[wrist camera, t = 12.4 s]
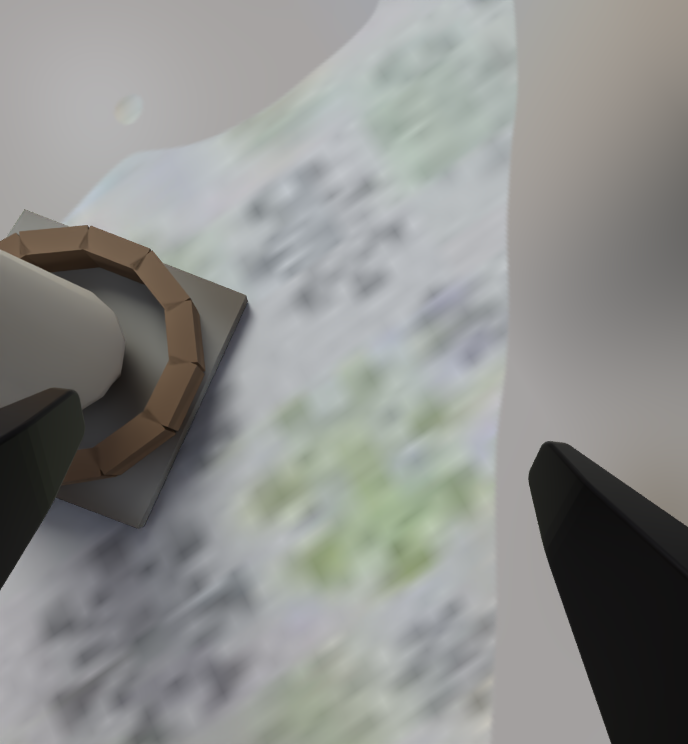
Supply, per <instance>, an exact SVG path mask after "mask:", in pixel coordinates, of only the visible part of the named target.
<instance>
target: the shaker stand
mask: <svg viewBox="0 0 688 744" xmlns="http://www.w3.org/2000/svg"><path fill="white" fill-rule="evenodd" d="M0 250H2V251H5V252H7V253H9V254H11V255H13V256H15V257H18V258H20V259H22V260H24V261H26V262H28V263H30V264H33V265H35V266H37V267H39V268H41V269H43V270H45V271H48V272H50V273H52V274H54V275H56V276H58V277H61V278H63V279H65V280H67V281H69V282H71V283H73V284H76V285H78V286H80V287H82V288H84V289H86V290H89V291H91V292H92V293H94V294H95V295H96V296H97V297H98V298H99V299H100V300H101V301H102V302H103V303H105V304H106V305H107V306H108V307H109V308H110V309H111V310H112V311H113V312H114V313H115V315H116V316H117V319H118V321H119V324H120V327H121V330H122V333H123V336H124V339H125V342H126V345H125V351H124V357H123V364H122V370H121V376H120V377H119V378H118V379H117V380H116V381H115V382H114V383H113V384H112V385H111V386H110V388H109V389H108V391H107V392H106V393H105V395H104V396H103V397H102V398H100V399H99V400H97V401H95V402H94V403H92V404H91V405H89V406H87V407H86V408H84V409H83V410H82V412H83V417H84V422H85V433H84V436H83V439H82V441H81V443H80V445H79V448H78V450H77V452H76V454H75V456H74V458H73V461H72V463H71V465H70V467H69V469H68V471H67V473H66V476H65V478H64V480H63V482H62V484H61V486H60V489H59V491H58V493H57V495H56V498H59V499H61V500H64V501H67V502H69V503H72V504H74V505H77V506H80V507H82V508H85V509H88V510H90V511H93V512H95V513H98V514H101V515H103V516H106V517H109V518H111V519H114V520H117V521H119V522H122V523H124V524H127V525H130V526H132V527H135V528H141V527H144V525H145V523H146V521H147V519H148V516H149V514H150V512H151V510H152V508H153V506H154V503H155V501H156V499H157V497H158V495H159V493H160V490H161V488H162V486H163V484H164V482H165V480H166V477H167V475H168V473H169V471H170V469H171V467H172V464H173V462H174V460H175V458H176V456H177V454H178V451H179V449H180V447H181V445H182V443H183V441H184V439H185V436H186V434H187V432H188V430H189V428H190V426H191V423H192V421H193V419H194V417H195V415H196V413H197V410H198V408H199V406H200V404H201V402H202V400H203V397H204V395H205V393H206V391H207V389H208V387H209V384H210V382H211V380H212V378H213V376H214V374H215V371H216V369H217V367H218V365H219V363H220V361H221V358H222V356H223V354H224V352H225V350H226V348H227V345H228V343H229V341H230V339H231V337H232V335H233V332H234V330H235V328H236V326H237V324H238V322H239V319H240V317H241V315H242V313H243V311H244V309H245V306H246V304H247V302H248V300H247V296H246V295H244V294H241V293H239V292H236V291H234V290H231V289H229V288H226V287H223V286H221V285H218V284H216V283H213V282H210V281H208V280H205V279H203V278H200V277H198V276H195V275H192V274H190V273H187V272H185V271H182V270H180V269H177V268H174V267H172V266H169V265H167V264H164V263H162V262H161V260H160V259H159V258H158V257H157V255H156V254H155V253H154V252H153V250H152V251H151V249H150V248H147V247H144V246H142V245H139V244H137V243H134V242H132V241H129V240H126V239H124V238H121V237H119V236H116V235H114V234H111V233H108V232H106V231H103V230H101V229H98V228H96V227H93V226H90V228H89V227H88V225H84V226H73V227H69V226H66V225H64V224H61V223H58V222H56V221H53V220H51V219H48V218H46V217H43V216H40V215H38V214H35V213H33V212H30V211H28V210H24V211H23V213H22V214H21V216H20V217H19V219H18V220H17V222H16V223H15V225H14V226H13V228H12V230H11V231H10V233H9V234H8V236H7V237H6V238H5V239H3V240H2V241H0Z"/></svg>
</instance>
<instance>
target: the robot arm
mask: <svg viewBox="0 0 688 744" xmlns="http://www.w3.org/2000/svg"><path fill="white" fill-rule="evenodd" d="M84 433H85V422H84V417H83V412H82V407H81V401H80V397H79V394H78V393H77V392H76V391H75V390H73V389H65V388H56V387H53V388H49V389H46V390H44V391H41V392H39V393H36V394H34V395H31V396H29V397H26V398H24V399H22V400H19V401H17V402H14V403H12V404H9V405H7V406H4V407H2V408H0V590H1V588H2V587H3V585H4V583H5V582H6V580H7V578H8V577H9V575H10V573H11V572H12V570H13V569H14V567H15V565H16V564H17V562H18V560H19V559H20V557H21V555H22V554H23V552H24V551H25V549H26V547H27V546H28V544H29V542H30V541H31V539H32V537H33V536H34V534H35V533H36V531H37V529H38V528H39V526H40V524H41V523H42V521H43V519H44V518H45V516H46V514H47V512H48V511H49V509H50V507H51V505H52V503H53V501H54V499H55V497H56V495H57V493H58V491H59V489H60V486H61V484H62V482H63V480H64V478H65V476H66V473H67V471H68V469H69V467H70V465H71V463H72V461H73V458H74V456H75V454H76V452H77V450H78V448H79V445H80V443H81V441H82V439H83V436H84ZM528 480H529V486H530V491H531V495H532V499H533V504H534V508H535V512H536V517H537V521H538V525H539V529H540V534H541V538H542V542H543V546H544V550H545V553H546V556H547V559H548V562H549V566H550V569H551V571H552V574H553V577H554V580H555V583H556V586H557V589H558V592H559V594H560V597H561V600H562V603H563V606H564V609H565V612H566V615H567V617H568V620H569V623H570V626H571V629H572V632H573V635H574V638H575V641H576V643H577V646H578V649H579V652H580V655H581V658H582V661H583V664H584V667H585V669H586V672H587V675H588V678H589V681H590V684H591V687H592V690H593V693H594V695H595V698H596V701H597V704H598V707H599V710H600V712H601V716H602V718H603V721H604V724H605V727H606V730H607V733H608V736H609V739H610V742H611V744H688V527H687V526H686V525H684V524H683V523H681V522H680V521H678V520H677V519H675V518H674V517H673V516H671V515H670V514H668V513H667V512H665V511H664V510H662V509H661V508H660V507H658V506H657V505H655V504H654V503H652V502H651V501H649V500H648V499H647V498H645V497H644V496H642V495H641V494H639V493H638V492H636V491H635V490H634V489H632V488H631V487H629V486H628V485H626V484H625V483H623V482H622V481H621V480H619V479H618V478H616V477H615V476H613V475H612V474H610V473H609V472H607V471H606V470H605V469H603V468H602V467H600V466H599V465H598V464H596V463H595V462H593V461H592V460H590V459H589V458H587V457H586V456H585V455H583V454H582V453H580V452H579V451H577V450H576V449H574V448H573V447H572V446H570V445H568V444H566V443H562V442H553V441H547V442H545V443H544V444H542V446H541V448H540V450H539V452H538V454H537V457H536V458H535V460H534V462H533V465H532V467H531V469H530V471H529V478H528Z"/></svg>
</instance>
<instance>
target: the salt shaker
mask: <svg viewBox="0 0 688 744" xmlns="http://www.w3.org/2000/svg"><path fill="white" fill-rule="evenodd" d="M125 345H126V342H125V339H124V336H123V333H122V330H121V327H120V324H119V321H118V319H117V316H116V315H115V313H114V312H113V311H112V310H111V309H110V308H109V307H108V306H107V305H106V304H105V303H103V302H102V301H101V300H100V299H99V298H98V297H97V296H96V295H95V294H94V293H92V292H91V291H89V290H86V289H84V288H82V287H80V286H78V285H76V284H73V283H71V282H69V281H67V280H65V279H63V278H61V277H58V276H56V275H54V274H52V273H50V272H48V271H45V270H43V269H41V268H39V267H37V266H35V265H33V264H30V263H28V262H26V261H24V260H22V259H20V258H18V257H15V256H13V255H11V254H9V253H7V252H5V251H2V250H0V408H2V407H4V406H7V405H9V404H12V403H14V402H17V401H19V400H22V399H24V398H26V397H29V396H31V395H34V394H36V393H39V392H41V391H44V390H46V389H49V388H53V387H56V388H65V389H73V390H75V391H76V392H77V393H78V394H79V397H80V401H81V407H82V410H83V409H84V408H86V407H87V406H89V405H91V404H92V403H94V402H95V401H97V400H99V399H100V398H102V397H103V396H104V395H105V393H106V392H107V391H108V389H109V388H110V386H111V385H112V384H113V383H114V382H115V381H116V380H117V379H118V378H119V377H120V376H121V370H122V364H123V357H124V351H125Z"/></svg>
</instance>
